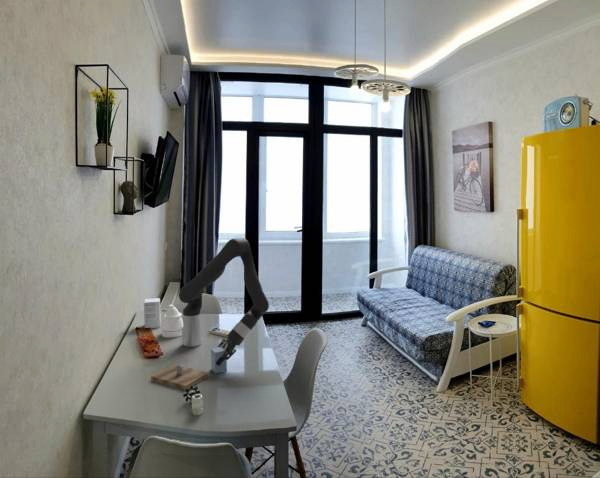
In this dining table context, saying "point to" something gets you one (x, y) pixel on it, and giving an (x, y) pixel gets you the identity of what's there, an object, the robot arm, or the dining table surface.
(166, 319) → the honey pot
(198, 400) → the valve
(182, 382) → the post plate
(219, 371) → the block
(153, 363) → the dining table surface
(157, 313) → the supplement box
